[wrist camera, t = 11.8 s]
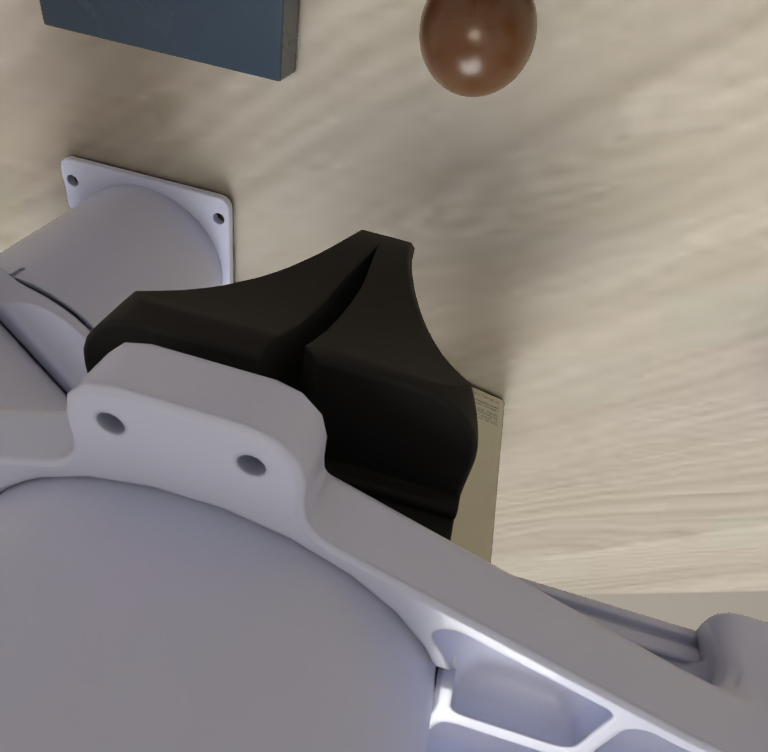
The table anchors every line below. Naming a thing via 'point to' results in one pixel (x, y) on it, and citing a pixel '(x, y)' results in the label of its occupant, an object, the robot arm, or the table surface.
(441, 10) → the lever
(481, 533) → the cosmetic box
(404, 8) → the table surface
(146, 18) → the button box
